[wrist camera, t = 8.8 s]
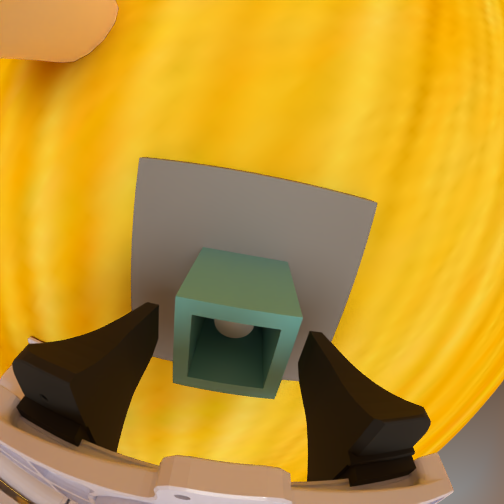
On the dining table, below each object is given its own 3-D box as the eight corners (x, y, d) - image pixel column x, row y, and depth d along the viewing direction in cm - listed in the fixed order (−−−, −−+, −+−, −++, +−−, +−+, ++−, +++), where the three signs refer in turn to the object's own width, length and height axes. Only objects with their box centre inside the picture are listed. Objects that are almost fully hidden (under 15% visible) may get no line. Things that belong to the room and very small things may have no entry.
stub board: (138, 343, 20) (117, 381, 16) (146, 157, 15) (110, 159, 11) (311, 373, 20) (320, 415, 16) (371, 200, 16) (405, 215, 12)
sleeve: (195, 318, 18) (172, 382, 12) (202, 246, 16) (175, 295, 10) (270, 331, 18) (274, 399, 12) (287, 261, 16) (302, 317, 11)
